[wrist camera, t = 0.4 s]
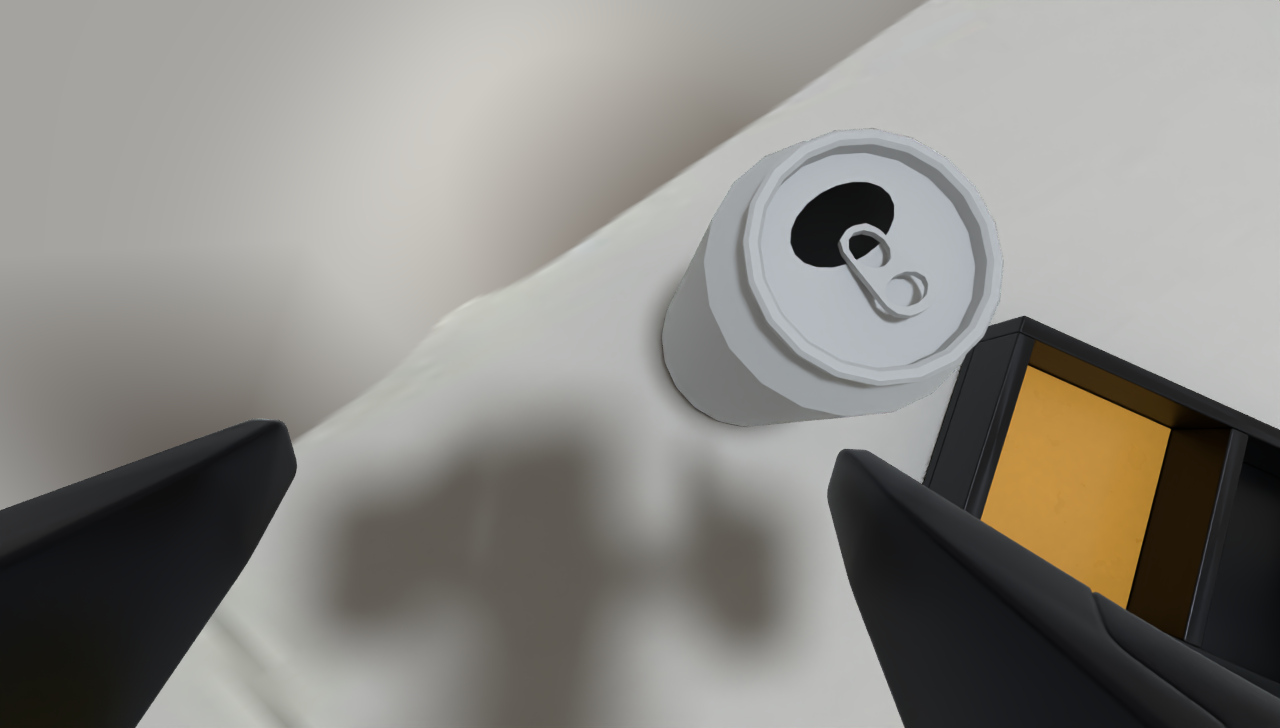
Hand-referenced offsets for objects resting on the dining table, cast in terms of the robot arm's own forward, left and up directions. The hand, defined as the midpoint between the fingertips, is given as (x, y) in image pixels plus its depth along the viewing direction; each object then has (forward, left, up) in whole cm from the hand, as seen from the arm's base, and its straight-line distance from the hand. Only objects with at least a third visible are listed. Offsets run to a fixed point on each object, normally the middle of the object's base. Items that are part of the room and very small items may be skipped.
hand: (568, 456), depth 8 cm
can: (0, -8, -14) cm, 16 cm away
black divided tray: (-17, -19, -14) cm, 29 cm away
